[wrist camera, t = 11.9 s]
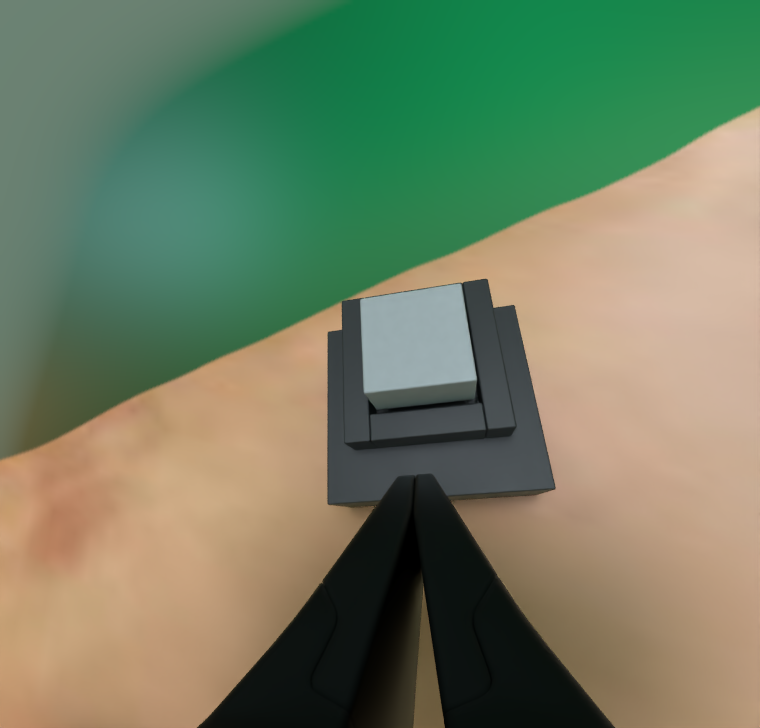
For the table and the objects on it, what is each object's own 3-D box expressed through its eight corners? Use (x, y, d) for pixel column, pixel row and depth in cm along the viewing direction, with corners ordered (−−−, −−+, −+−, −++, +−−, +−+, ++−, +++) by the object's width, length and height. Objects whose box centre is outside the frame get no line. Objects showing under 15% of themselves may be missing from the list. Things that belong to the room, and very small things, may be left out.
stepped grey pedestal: (538, 494, 19) (567, 485, 14) (350, 507, 21) (313, 503, 16) (503, 329, 23) (516, 273, 18) (346, 350, 25) (316, 304, 19)
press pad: (475, 400, 16) (477, 380, 14) (376, 410, 17) (363, 393, 15) (461, 312, 18) (461, 282, 16) (372, 325, 19) (359, 298, 16)
